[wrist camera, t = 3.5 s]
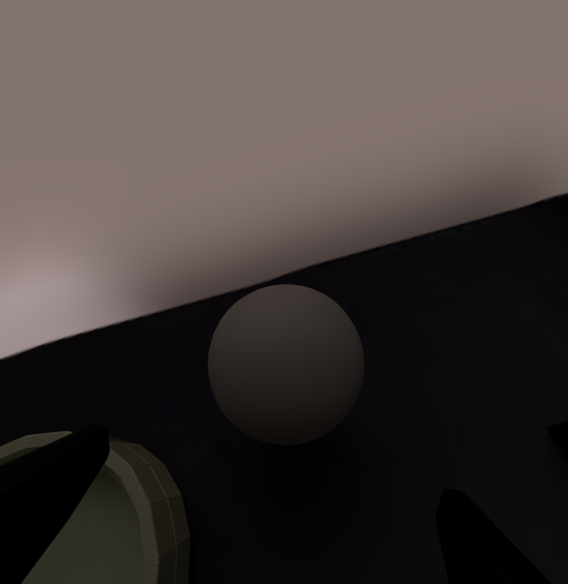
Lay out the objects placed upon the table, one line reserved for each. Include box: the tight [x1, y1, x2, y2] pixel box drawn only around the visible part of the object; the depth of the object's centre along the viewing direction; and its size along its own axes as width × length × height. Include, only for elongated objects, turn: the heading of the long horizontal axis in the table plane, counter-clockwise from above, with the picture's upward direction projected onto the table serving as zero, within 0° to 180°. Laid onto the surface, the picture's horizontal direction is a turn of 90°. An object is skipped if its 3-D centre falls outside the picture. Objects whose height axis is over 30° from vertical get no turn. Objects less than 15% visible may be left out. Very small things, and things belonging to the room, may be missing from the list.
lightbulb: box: [208, 284, 364, 445], centre depth 14 cm, size 6×6×11 cm
